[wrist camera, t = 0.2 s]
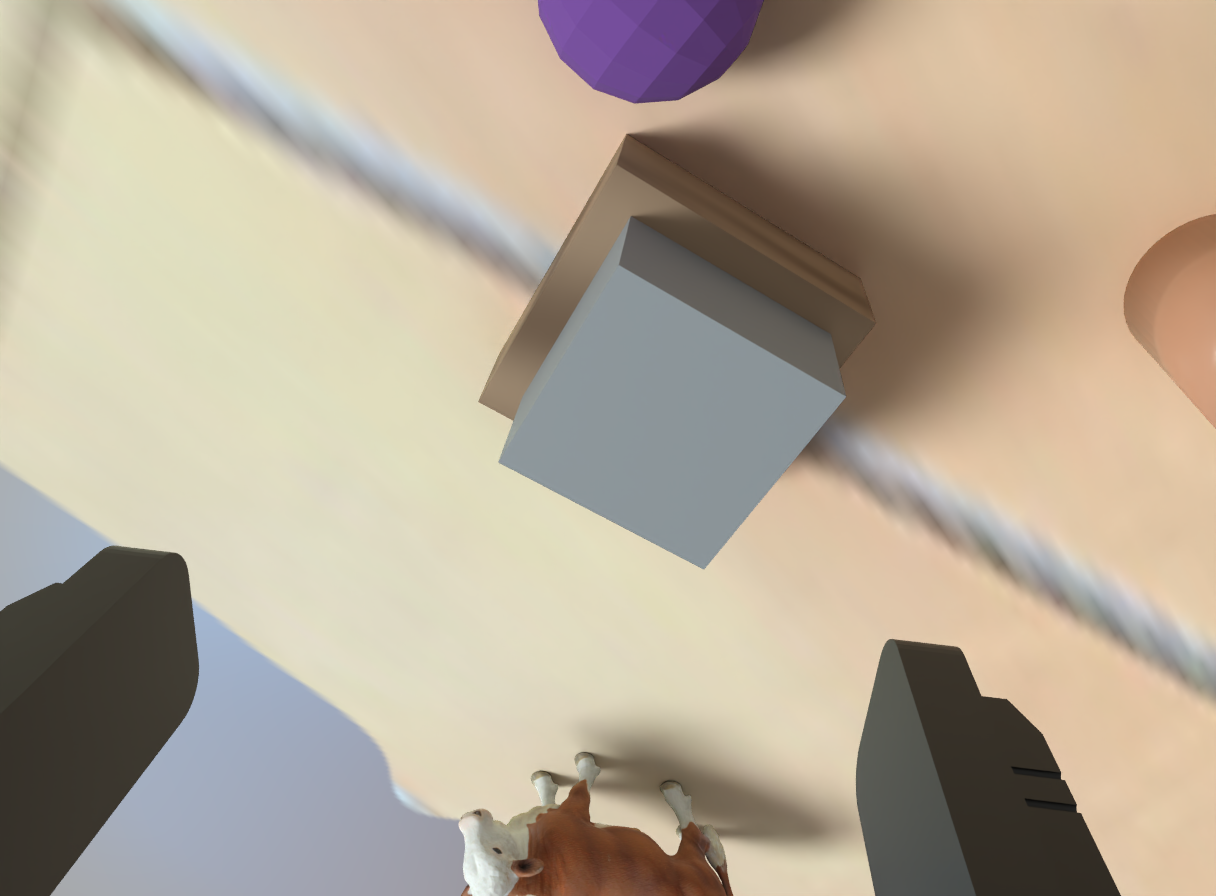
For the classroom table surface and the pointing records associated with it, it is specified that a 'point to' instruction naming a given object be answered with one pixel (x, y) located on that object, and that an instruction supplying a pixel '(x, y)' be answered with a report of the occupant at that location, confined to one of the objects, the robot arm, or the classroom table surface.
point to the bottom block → (696, 224)
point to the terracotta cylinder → (1179, 309)
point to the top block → (673, 397)
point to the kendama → (649, 43)
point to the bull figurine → (587, 849)
